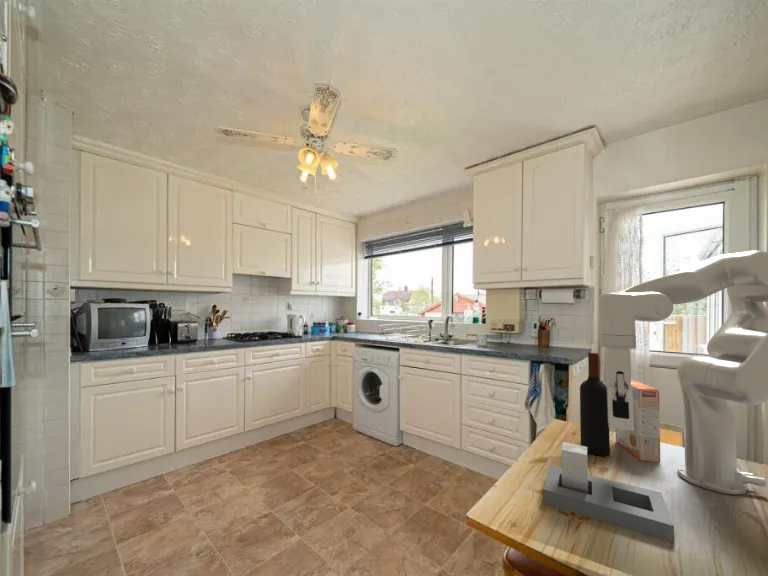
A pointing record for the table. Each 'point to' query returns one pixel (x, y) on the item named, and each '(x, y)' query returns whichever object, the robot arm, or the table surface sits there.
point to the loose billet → (620, 422)
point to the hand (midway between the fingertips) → (620, 413)
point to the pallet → (613, 504)
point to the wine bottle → (594, 411)
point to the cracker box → (643, 425)
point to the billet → (575, 467)
